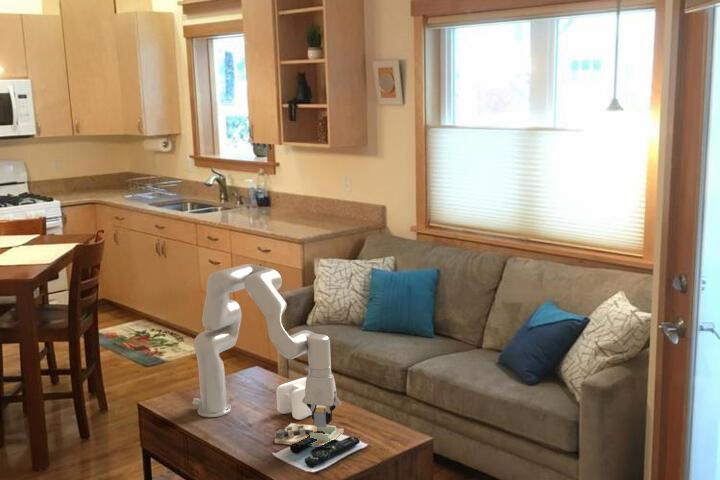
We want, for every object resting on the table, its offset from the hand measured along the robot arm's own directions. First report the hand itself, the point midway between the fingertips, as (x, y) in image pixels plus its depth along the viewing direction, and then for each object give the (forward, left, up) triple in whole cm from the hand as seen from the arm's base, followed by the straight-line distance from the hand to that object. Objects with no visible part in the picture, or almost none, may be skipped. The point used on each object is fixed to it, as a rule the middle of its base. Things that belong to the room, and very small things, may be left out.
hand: (322, 421), depth 269 cm
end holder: (0, 0, -5) cm, 5 cm away
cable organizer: (-16, +19, -7) cm, 26 cm away
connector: (0, 0, -1) cm, 1 cm away
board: (-5, 0, -6) cm, 8 cm away
